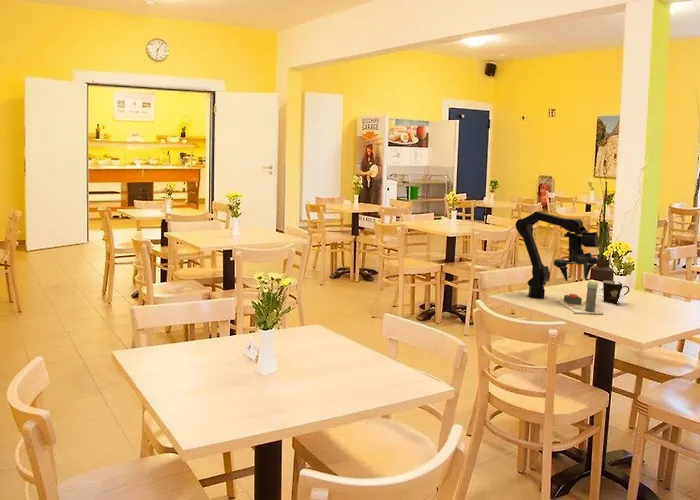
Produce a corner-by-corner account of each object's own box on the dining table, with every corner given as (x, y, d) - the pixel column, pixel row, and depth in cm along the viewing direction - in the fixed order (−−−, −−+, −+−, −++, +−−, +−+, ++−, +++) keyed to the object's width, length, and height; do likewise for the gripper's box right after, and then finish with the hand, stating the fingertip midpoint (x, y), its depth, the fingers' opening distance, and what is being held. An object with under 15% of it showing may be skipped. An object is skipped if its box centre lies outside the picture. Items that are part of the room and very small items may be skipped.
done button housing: (568, 304, 328) (569, 297, 328) (563, 301, 334) (564, 295, 333) (581, 304, 328) (581, 298, 328) (576, 301, 334) (576, 295, 334)
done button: (570, 299, 329) (570, 295, 329) (567, 297, 332) (568, 293, 332) (578, 299, 329) (578, 295, 329) (575, 298, 333) (575, 293, 332)
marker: (587, 311, 314) (590, 282, 312) (583, 309, 318) (586, 280, 316) (596, 312, 314) (599, 283, 312) (592, 309, 318) (595, 281, 316)
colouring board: (574, 314, 312) (574, 312, 311) (556, 302, 334) (556, 300, 334) (603, 315, 313) (603, 313, 312) (582, 303, 335) (583, 301, 335)
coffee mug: (599, 303, 336) (601, 282, 335) (602, 300, 344) (604, 279, 342) (625, 307, 331) (628, 286, 329) (628, 303, 338) (630, 283, 337)
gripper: (563, 250, 317) (563, 284, 319) (602, 247, 319) (603, 281, 321) (553, 247, 328) (553, 280, 330) (591, 244, 330) (592, 277, 332)
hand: (576, 280), depth 328 cm, fingers open, 9 cm apart
